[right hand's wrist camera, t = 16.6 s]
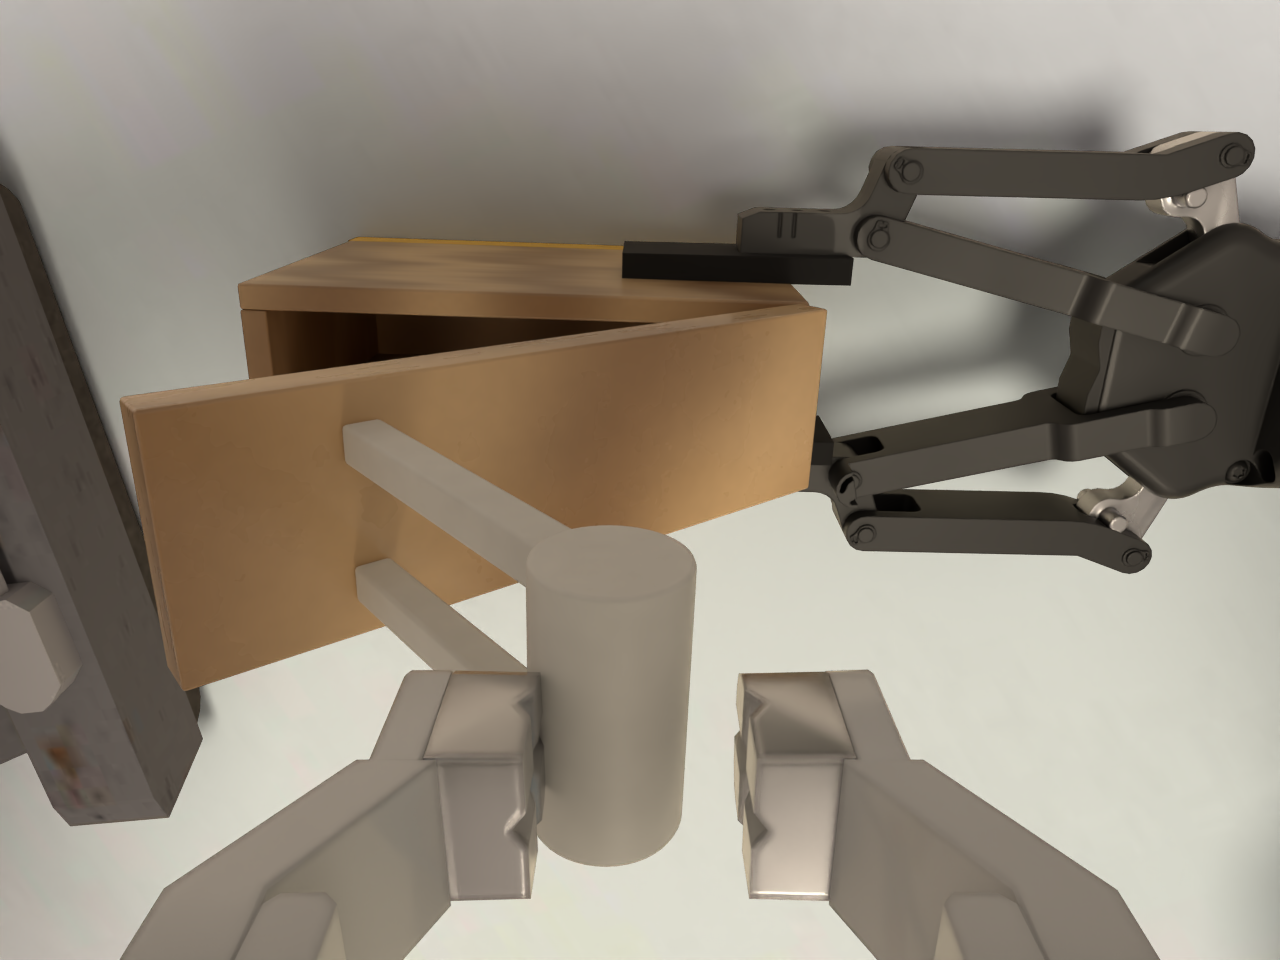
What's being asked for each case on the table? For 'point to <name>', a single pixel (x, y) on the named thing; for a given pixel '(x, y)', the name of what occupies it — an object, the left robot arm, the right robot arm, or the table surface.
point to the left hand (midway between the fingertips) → (623, 350)
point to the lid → (487, 526)
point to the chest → (460, 300)
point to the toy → (75, 579)
